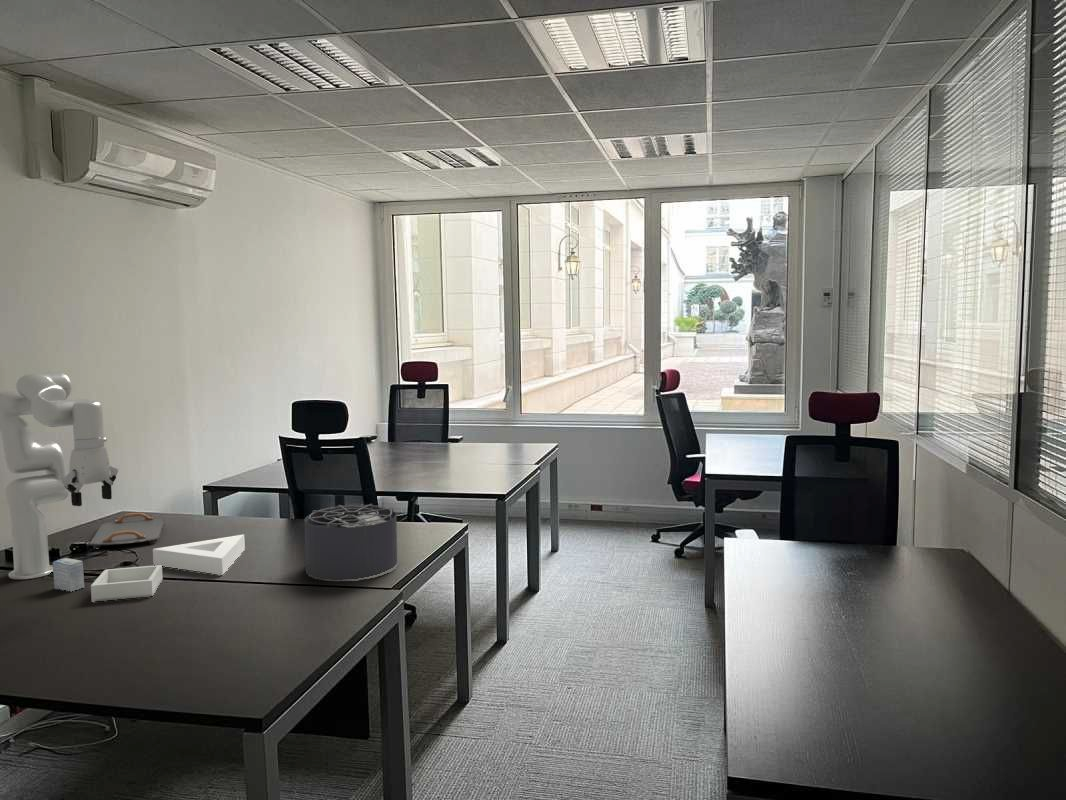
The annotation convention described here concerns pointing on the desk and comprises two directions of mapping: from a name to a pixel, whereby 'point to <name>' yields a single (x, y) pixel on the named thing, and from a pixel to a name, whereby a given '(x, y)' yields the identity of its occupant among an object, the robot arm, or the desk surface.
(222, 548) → the triangular ruler
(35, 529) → the robot arm
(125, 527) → the serving board
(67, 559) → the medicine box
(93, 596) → the box
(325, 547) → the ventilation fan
